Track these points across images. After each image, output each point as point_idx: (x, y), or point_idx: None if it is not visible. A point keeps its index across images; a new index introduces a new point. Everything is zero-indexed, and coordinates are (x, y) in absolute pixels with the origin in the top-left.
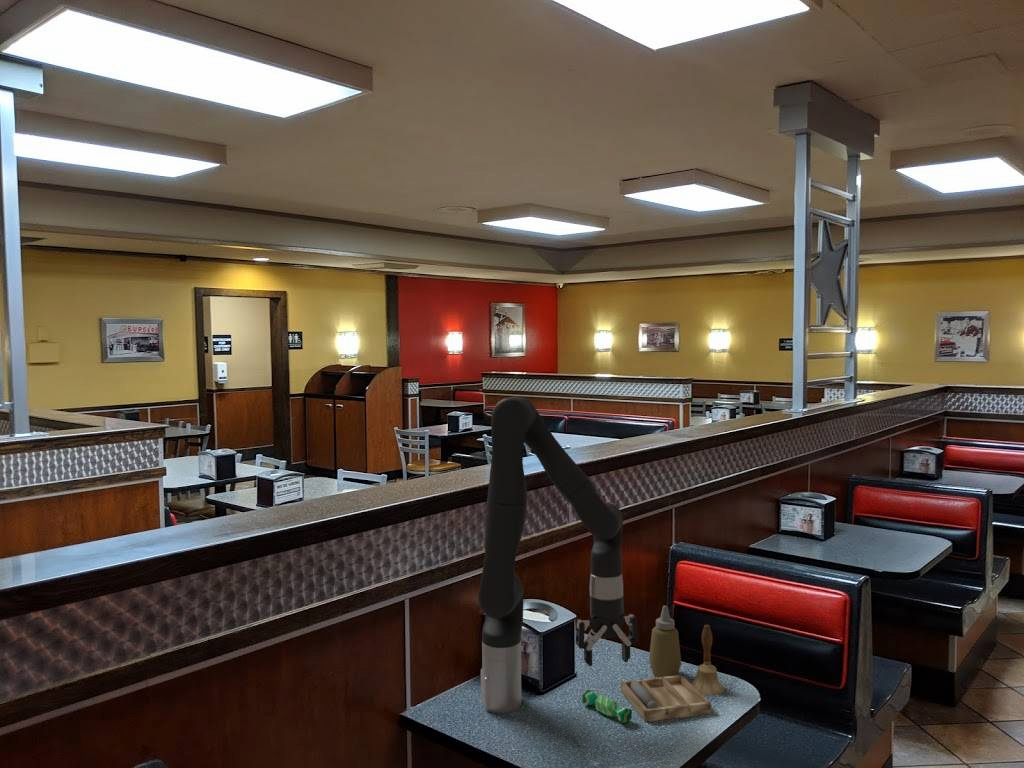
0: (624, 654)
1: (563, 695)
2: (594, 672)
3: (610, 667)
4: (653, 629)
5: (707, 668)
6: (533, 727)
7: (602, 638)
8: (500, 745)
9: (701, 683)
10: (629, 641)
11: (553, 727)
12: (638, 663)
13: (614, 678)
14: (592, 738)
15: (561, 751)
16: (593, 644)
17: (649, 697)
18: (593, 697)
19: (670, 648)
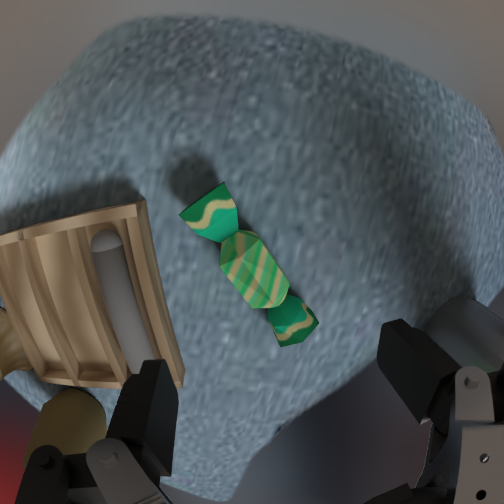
0: (159, 398)
1: (337, 358)
2: (233, 437)
3: (195, 448)
4: None
5: None
6: (440, 213)
7: (403, 487)
8: (487, 159)
9: (5, 338)
10: (95, 469)
11: (406, 205)
12: None
13: (192, 418)
14: (328, 126)
15: (406, 94)
16: (459, 412)
17: (105, 273)
18: (289, 310)
19: (42, 438)
